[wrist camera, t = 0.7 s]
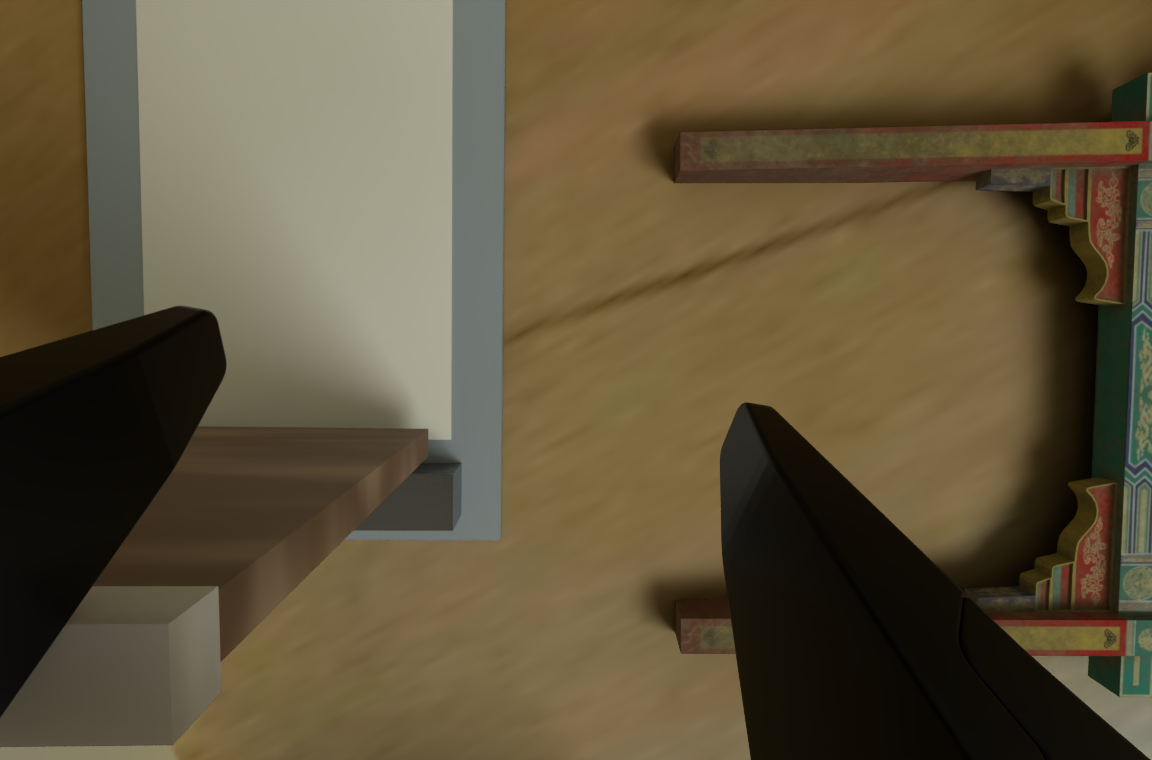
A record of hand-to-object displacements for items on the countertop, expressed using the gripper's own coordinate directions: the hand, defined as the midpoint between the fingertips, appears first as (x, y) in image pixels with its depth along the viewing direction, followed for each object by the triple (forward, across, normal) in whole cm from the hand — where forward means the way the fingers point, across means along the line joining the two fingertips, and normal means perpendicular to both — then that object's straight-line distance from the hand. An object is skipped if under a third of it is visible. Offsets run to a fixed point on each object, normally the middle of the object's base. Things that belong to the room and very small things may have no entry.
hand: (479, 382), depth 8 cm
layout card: (+14, +9, +6) cm, 17 cm away
